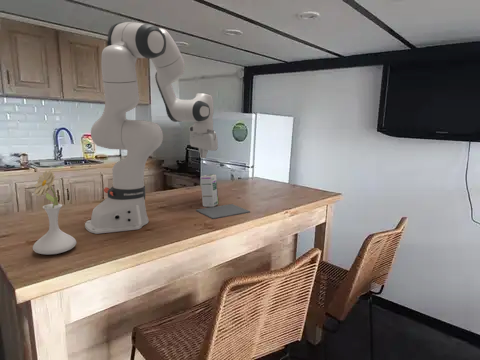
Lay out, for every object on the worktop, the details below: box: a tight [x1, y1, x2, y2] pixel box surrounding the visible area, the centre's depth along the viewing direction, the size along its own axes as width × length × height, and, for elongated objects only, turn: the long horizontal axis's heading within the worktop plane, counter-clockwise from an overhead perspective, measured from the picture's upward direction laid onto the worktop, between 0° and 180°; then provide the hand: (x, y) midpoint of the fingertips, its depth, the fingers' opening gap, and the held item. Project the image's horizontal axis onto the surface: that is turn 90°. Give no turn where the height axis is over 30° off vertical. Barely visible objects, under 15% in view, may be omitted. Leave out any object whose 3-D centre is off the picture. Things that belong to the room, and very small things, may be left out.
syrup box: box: [200, 173, 219, 208], centre depth 150 cm, size 6×6×14 cm
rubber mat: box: [195, 203, 251, 220], centre depth 143 cm, size 20×14×1 cm
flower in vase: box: [32, 169, 77, 255], centre depth 93 cm, size 13×11×25 cm
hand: (203, 158), depth 153 cm, fingers closed
